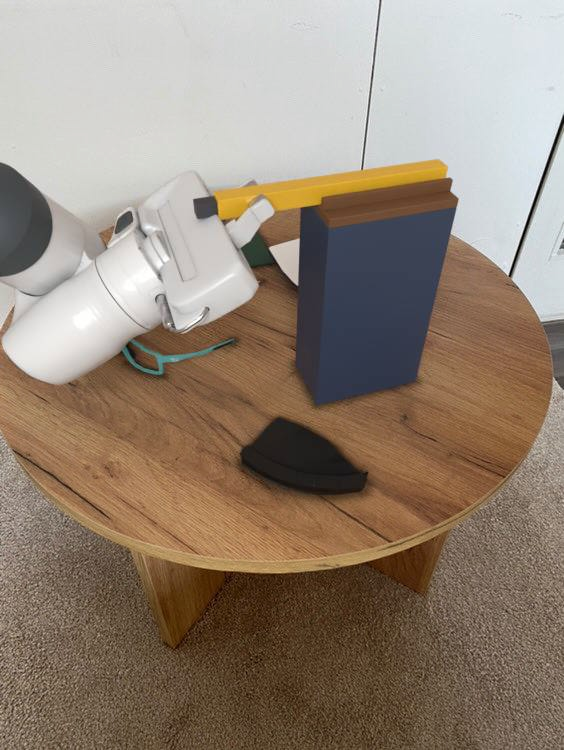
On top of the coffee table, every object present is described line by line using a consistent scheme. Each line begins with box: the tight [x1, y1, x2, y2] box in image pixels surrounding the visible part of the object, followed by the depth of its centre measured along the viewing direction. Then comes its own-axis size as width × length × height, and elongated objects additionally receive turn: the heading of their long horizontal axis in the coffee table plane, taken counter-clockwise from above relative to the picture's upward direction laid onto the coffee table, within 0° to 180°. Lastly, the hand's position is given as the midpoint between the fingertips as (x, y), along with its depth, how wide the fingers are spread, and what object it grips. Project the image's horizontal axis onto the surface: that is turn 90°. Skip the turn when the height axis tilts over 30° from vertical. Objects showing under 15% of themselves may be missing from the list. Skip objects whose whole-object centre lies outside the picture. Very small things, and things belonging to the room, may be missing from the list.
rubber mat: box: [241, 230, 275, 269], centre depth 97 cm, size 26×12×1 cm, turn 108°
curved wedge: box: [239, 416, 369, 496], centre depth 66 cm, size 8×14×2 cm, turn 55°
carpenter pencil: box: [193, 158, 449, 220], centre depth 57 cm, size 26×2×2 cm, turn 108°
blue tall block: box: [295, 177, 460, 406], centre depth 68 cm, size 14×8×27 cm, turn 108°
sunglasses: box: [121, 338, 236, 376], centre depth 81 cm, size 14×15×5 cm
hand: (264, 193), depth 56 cm, fingers closed on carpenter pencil, 2 cm apart
